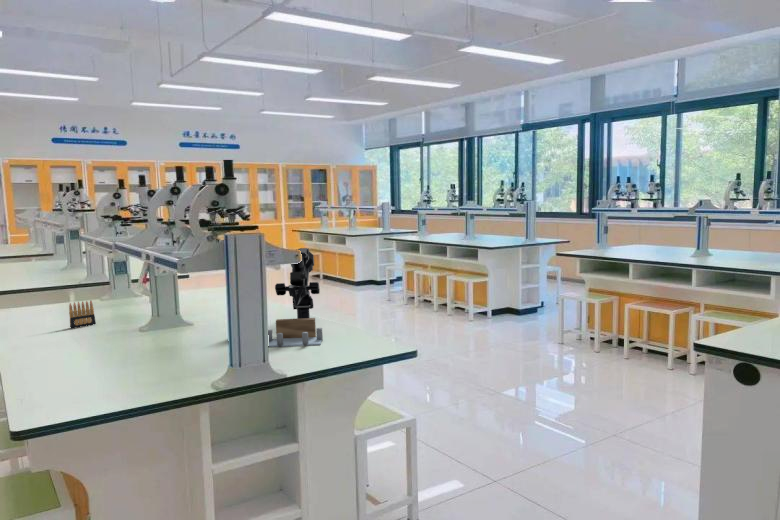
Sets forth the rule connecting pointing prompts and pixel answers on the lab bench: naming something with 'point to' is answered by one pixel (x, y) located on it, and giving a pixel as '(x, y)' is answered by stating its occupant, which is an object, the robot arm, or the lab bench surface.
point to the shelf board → (296, 327)
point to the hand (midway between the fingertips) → (296, 304)
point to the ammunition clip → (81, 315)
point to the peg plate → (295, 339)
